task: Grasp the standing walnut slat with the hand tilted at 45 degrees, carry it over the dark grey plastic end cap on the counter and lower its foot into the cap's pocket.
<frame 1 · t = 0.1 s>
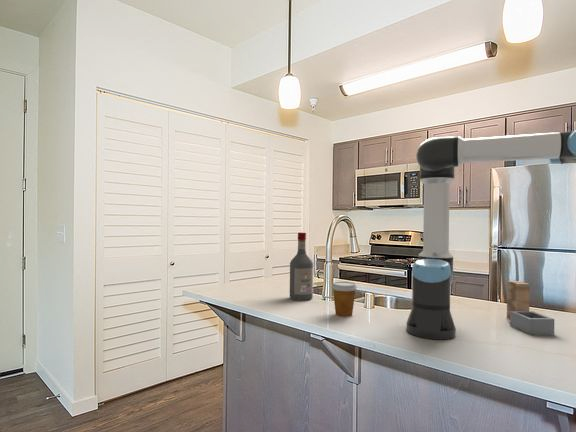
slat: (517, 320, 140), on the counter
liquor: (301, 299, 171), on the counter
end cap: (531, 329, 128), on the counter
disposable coffee cup: (343, 315, 144), on the counter
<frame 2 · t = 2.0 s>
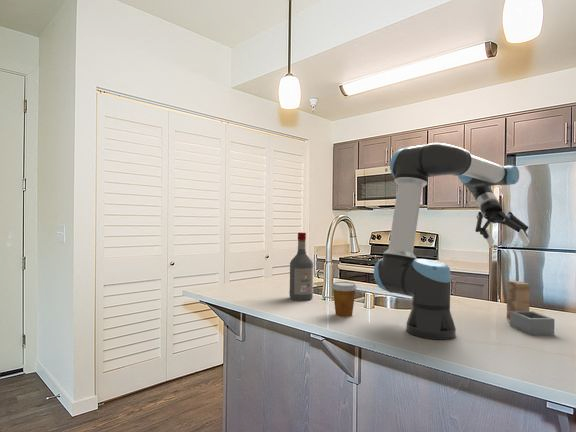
hand: (509, 244, 145), 28 cm above the counter, tool tilted 45°, fingers open, 13 cm apart
nothing on the counter moved.
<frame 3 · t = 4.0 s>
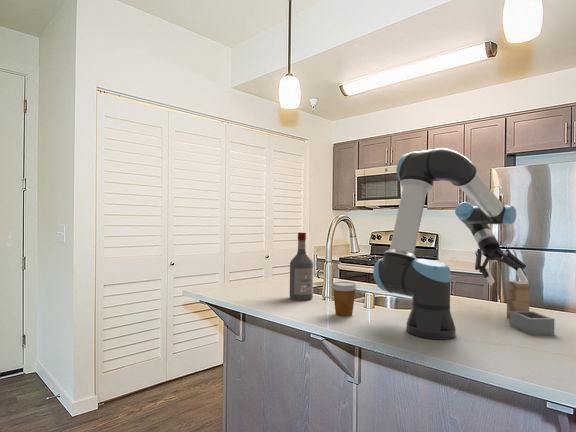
hand: (509, 283, 146), 12 cm above the counter, tool tilted 45°, fingers open, 13 cm apart
nothing on the counter moved.
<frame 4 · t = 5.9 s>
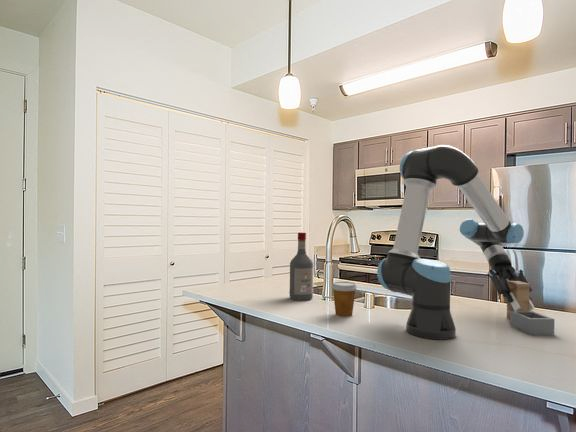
hand: (524, 309, 136), 5 cm above the counter, tool tilted 45°, fingers closed on slat, 4 cm apart
slat: (517, 320, 140), on the counter, touching gripper
everything else where it was.
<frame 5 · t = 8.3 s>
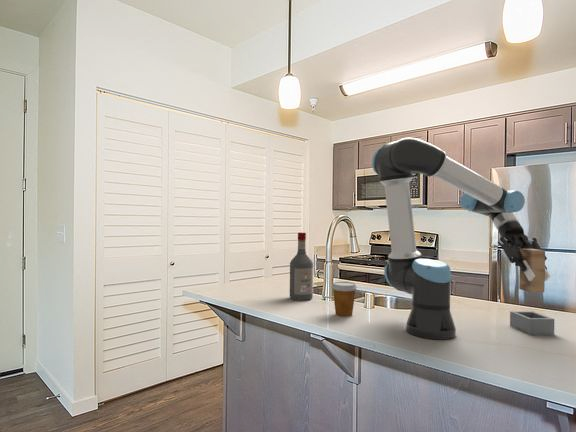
hand: (539, 278, 124), 18 cm above the counter, tool tilted 45°, fingers closed on slat, 4 cm apart
slat: (531, 290, 128), point 13 cm above the counter, touching gripper
everything else where it was.
when the fingers open (8 cm above the counter, at t = 10.4 s): slat drops 2 cm, resting on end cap.
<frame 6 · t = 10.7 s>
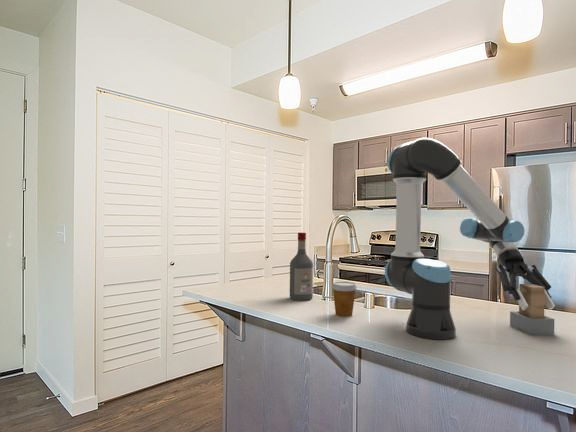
hand: (538, 308, 124), 8 cm above the counter, tool tilted 45°, fingers open, 8 cm apart
slat: (531, 326, 128), point 1 cm above the counter, touching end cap
everything else where it was.
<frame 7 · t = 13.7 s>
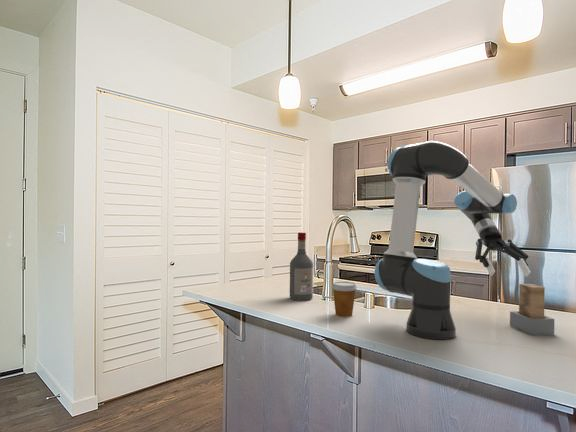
hand: (510, 273, 141), 17 cm above the counter, tool tilted 45°, fingers open, 13 cm apart
nothing on the counter moved.
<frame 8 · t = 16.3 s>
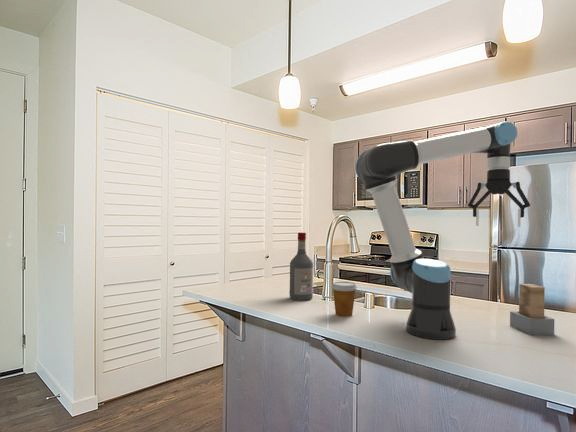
hand: (497, 226, 141), 35 cm above the counter, tool pointing down, fingers open, 13 cm apart
nothing on the counter moved.
at the end: slat 0.0 cm off-centre on the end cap, point 1.0 cm above the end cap's base; slat tilted 0°; the gripper is holding nothing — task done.
